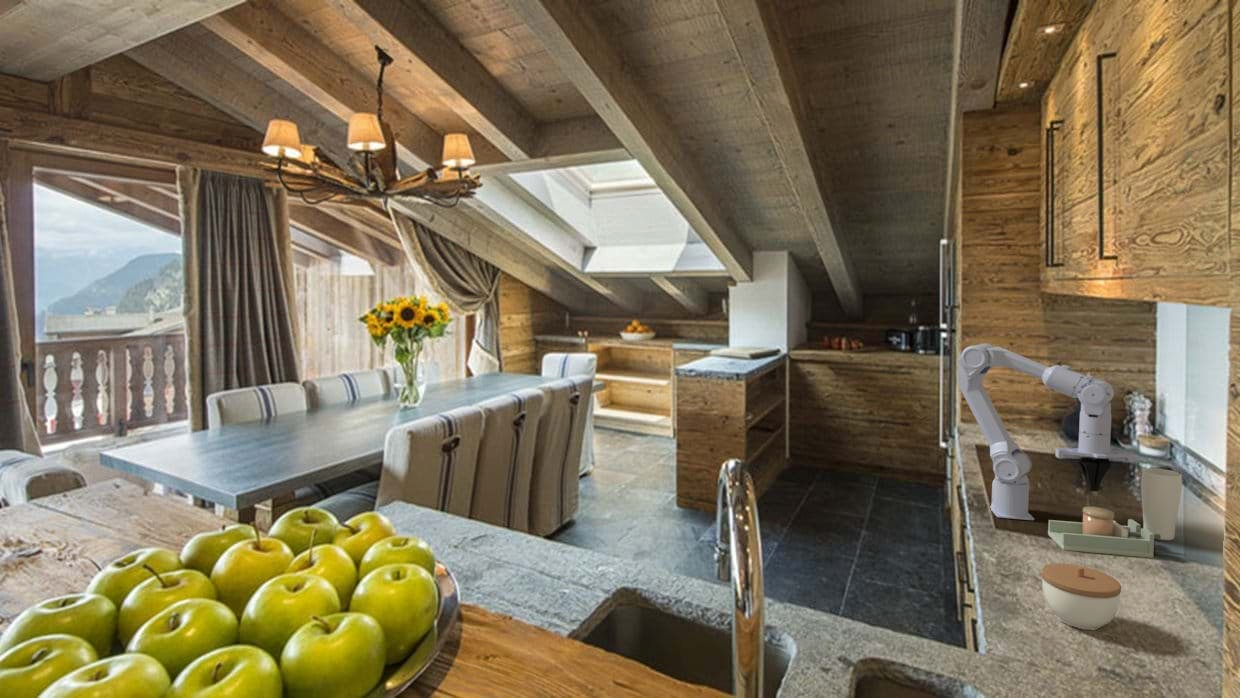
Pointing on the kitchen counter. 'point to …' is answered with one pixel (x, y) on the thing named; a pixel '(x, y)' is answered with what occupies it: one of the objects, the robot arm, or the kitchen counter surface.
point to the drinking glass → (1160, 501)
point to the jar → (1097, 521)
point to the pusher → (1122, 532)
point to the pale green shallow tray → (1102, 539)
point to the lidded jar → (1080, 595)
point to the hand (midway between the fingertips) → (1092, 489)
